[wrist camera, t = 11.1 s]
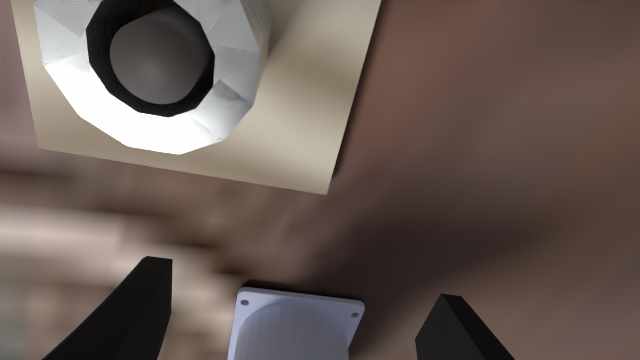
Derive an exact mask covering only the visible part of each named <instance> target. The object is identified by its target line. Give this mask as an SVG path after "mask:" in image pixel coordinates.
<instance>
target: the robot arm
mask: <svg viewBox="0 0 640 360" xmlns="http://www.w3.org/2000/svg"><path fill="white" fill-rule="evenodd" d="M171 297H172V259H166V258H158V257H151V256H146V257H145V258H143V259H142V260H141V261H140V262H139V263H138V264H137V266H136V267H135V268H134V269H133V270H132V271H131V272H130V274H129V275H128V276H127V277H126V278H125V279H124V280H123V281H122V282H121V283H120V285H119V286H118V287H117V288H116V289H115V290H114V291H113V292H112V293H111V294H110V295H109V296H108V297H107V298H106V299H105V300H104V301H103V302H102V303H101V304H100V305H99V306H98V307H97V308H96V309H95V310H94V311H93V312H92V313H91V314H90V315H89V316H88V317H87V318H86V319H85V320H84V321H83V322H82V323H81V324H80V325H79V326H78V327H77V328H76V329H75V330H74V331H73V332H72V333H71V334H70V335H69V336H68V337H66V338H65V339H64V340H63V341H62V342H61V343H60V344H59V345H58V346H57V347H55V348H54V349H53V350H52V351H51V352H50V353H49V354H48V355H47V356H45V357H44V358H43V359H42V360H157V358H158V355H159V352H160V349H161V346H162V342H163V339H164V336H165V332H166V329H167V325H168V322H169V319H170V315H171ZM364 311H365V307H364V303H363V302H362V301H358V300H350V299H342V298H334V297H326V296H317V295H309V294H301V293H292V292H284V291H276V290H268V289H259V288H251V287H243V288H241V289H239V291H238V295H237V302H236V308H235V314H234V321H233V327H232V333H231V340H230V346H229V352H228V359H227V360H349V355H348V348H349V346H350V343H351V341H352V339H353V336H354V334H355V332H356V329H357V327H358V325H359V322H360V320H361V318H362V315H363V313H364ZM415 343H416V350H417V358H418V360H515V359H514V358H513V357H512V356H511V354H510V353H509V352H508V351H507V350H506V349H505V347H504V346H503V345H502V344H501V343H500V341H499V340H498V339H497V338H496V337H495V335H494V334H493V333H492V332H491V331H490V329H489V328H488V327H487V326H486V325H485V323H484V322H483V321H482V320H481V319H480V318H479V316H478V315H477V314H476V313H475V312H474V310H473V309H472V308H471V307H470V306H469V305H468V303H467V302H466V301H465V300H464V299H463V298H462V297H461V296H455V295H447V294H440V296H439V298H438V299H437V301H436V303H435V305H434V307H433V308H432V310H431V312H430V314H429V315H428V317H427V319H426V321H425V322H424V324H423V326H422V328H421V329H420V331H419V333H418V335H417V336H416V338H415Z"/></svg>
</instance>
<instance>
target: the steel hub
mask: <svg viewBox="0 0 640 360" xmlns="http://www.w3.org/2000/svg"><path fill="white" fill-rule="evenodd" d="M152 1H153V0H36V1H35V3H34V5H35V6H34V12H35V18H36V24H37V30H38V36H39V42H40V48H41V54H42V60H43V65H45V66H44V67H45V69H46V70H47V71H48V73H49V74H50V76H51V77H52V78H53V80H54V81H55V83H56V84H57V85H58V87H59V88H60V90H61V91H62V92H63V94H64V95H65V97H66V98H67V99H68V101H69V102H70V103H71V105H72V106H73V108H74V109H75V110H76V112H77V113H78V115H80V116H81V117H82V118H84V119H86V120H87V121H89V122H90V123H92V124H93V125H95V126H97V127H98V128H100V129H101V130H103V131H105V132H106V133H108V134H109V135H111V136H113V137H114V138H116V139H117V140H119V141H121V142H122V143H124V144H125V145H127V146H130V147H136V148H142V149H149V150H155V151H161V152H167V153H173V154H182V153H185V152H188V151H192V150H195V149H198V148H201V147H204V146H207V145H211V144H214V143H217V142H220V141H223V140H224V139H225V138H226V137H227V136H228V135H229V134H230V132H231V131H232V130H233V129H234V128H235V126H236V125H237V124H238V123H239V122H240V121H241V119H242V118H243V117H244V116H245V115H246V114H247V112H248V111H249V110H250V109H251V108H252V107H253V105H254V102H255V99H256V95H257V92H258V88H259V85H260V82H261V78H262V75H263V72H264V68H265V65H266V61H267V58H268V51H269V43H270V36H271V29H272V22H273V19H272V16H271V13H270V10H269V7H268V5H267V2H266V0H174V1H175V2H176V3H177V4H179V5H180V6H181V7H182V8H183V9H185V10H186V11H187V12H188V13H189V14H191V15H192V16H193V17H194V18H195V19H197V20H198V21H199V22H200V23H201V25H202V28H203V30H204V32H205V34H206V36H207V38H208V41H209V43H210V45H211V47H212V49H213V51H214V54H215V65H214V66H211V67H208V68H207V69H206V71H205V72H204V73H203V75H202V76H201V77H200V79H199V80H198V81H197V83H196V84H195V85H194V87H193V88H192V89H191V91H190V92H189V93H188V94H187V95H186V96H185V97H184V98H182V99H181V100H179V101H177V102H174V103H170V104H155V103H151V102H147V101H145V100H142V99H140V98H138V97H137V96H135V95H133V94H132V93H131V92H130V91H128V90H127V89H126V88H125V87H124V86H123V85H122V83H121V82H120V81H119V79H118V78H117V76H116V74H115V72H114V70H113V68H112V64H111V60H110V47H111V42H112V40H113V38H114V36H115V34H116V33H117V31H118V30H119V29H120V28H121V27H123V26H124V25H126V24H128V23H130V22H132V21H134V20H136V19H139V18H141V17H143V16H145V15H147V14H149V13H151V12H152Z"/></svg>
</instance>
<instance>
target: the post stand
mask: <svg viewBox="0 0 640 360" xmlns="http://www.w3.org/2000/svg"><path fill="white" fill-rule="evenodd" d="M35 1H36V0H11V4H12V10H13V15H14V20H15V26H16V31H17V36H18V41H19V47H20V52H21V57H22V63H23V68H24V73H25V79H26V84H27V89H28V95H29V100H30V105H31V111H32V116H33V121H34V127H35V132H36V137H37V142H38V148H41V149H47V150H53V151H59V152H65V153H72V154H78V155H84V156H90V157H96V158H102V159H108V160H115V161H121V162H127V163H133V164H139V165H145V166H151V167H158V168H164V169H170V170H176V171H182V172H188V173H195V174H201V175H207V176H213V177H219V178H225V179H231V180H238V181H244V182H250V183H256V184H262V185H268V186H275V187H281V188H287V189H293V190H299V191H305V192H311V193H318V194H324V195H327V191H328V188H329V184H330V181H331V177H332V173H333V170H334V166H335V163H336V159H337V156H338V152H339V149H340V145H341V141H342V138H343V134H344V131H345V127H346V124H347V120H348V117H349V113H350V109H351V106H352V102H353V99H354V95H355V92H356V88H357V85H358V81H359V77H360V74H361V70H362V67H363V63H364V60H365V56H366V53H367V49H368V45H369V42H370V38H371V35H372V31H373V28H374V24H375V21H376V17H377V13H378V10H379V6H380V3H381V0H266V2H267V5H268V7H269V10H270V13H271V16H272V19H273V22H272V29H271V36H270V43H269V51H268V58H267V61H266V65H265V68H264V72H263V75H262V78H261V82H260V85H259V88H258V92H257V95H256V99H255V102H254V105H253V107H252V108H251V109H250V110H249V111H248V112H247V114H246V115H245V116H244V117H243V118H242V119H241V121H240V122H239V123H238V124H237V125H236V126H235V128H234V129H233V130H232V131H231V132H230V134H229V135H228V136H227V137H226V138H225V139H224V140H223V141H220V142H217V143H214V144H211V145H207V146H204V147H201V148H198V149H195V150H192V151H188V152H185V153H182V154H173V153H167V152H161V151H155V150H149V149H142V148H136V147H130V146H127V145H125V144H124V143H122V142H121V141H119V140H117V139H116V138H114V137H113V136H111V135H109V134H108V133H106V132H105V131H103V130H101V129H100V128H98V127H97V126H95V125H93V124H92V123H90V122H89V121H87V120H86V119H84V118H82V117H81V116H80V115H78V113H77V112H76V110H75V109H74V108H73V106H72V105H71V103H70V102H69V101H68V99H67V98H66V97H65V95H64V94H63V92H62V91H61V90H60V88H59V87H58V85H57V84H56V83H55V81H54V80H53V78H52V77H51V76H50V74H49V73H48V71H47V70H46V69H45V67H44V66H45V65H43V60H42V54H41V48H40V42H39V36H38V30H37V24H36V18H35V12H34V6H35V5H34V3H35ZM110 60H111V64H112V68H113V70H114V72H115V74H116V76H117V78H118V79H119V81H120V82H121V83H122V85H123V86H124V87H125V88H126V89H127V90H128V91H130V92H131V93H132V94H133V95H135V96H137V97H138V98H140V99H142V100H145V101H147V102H151V103H155V104H170V103H174V102H177V101H179V100H181V99H182V98H184V97H185V96H186V95H187V94H188V93H189V92H190V91H191V89H192V88H193V87H194V85H195V84H196V83H197V81H198V80H199V79H200V77H201V76H202V75H203V73H204V72H205V71H206V69H207V68H208V67H211V66H214V65H215V54H214V51H213V49H212V47H211V45H210V43H209V41H208V38H207V36H206V34H205V32H204V30H203V28H202V25H201V23H200V22H199V21H198V20H197V19H195V18H194V17H193V16H192V15H191V14H189V13H188V12H187V11H186V10H185V9H183V8H182V7H181V6H180V5H179V4H177V3H176V2H175V1H174V0H153V1H152V12H151V13H149V14H147V15H145V16H143V17H141V18H139V19H136V20H134V21H132V22H130V23H128V24H126V25H124V26H123V27H121V28H120V29H119V30H118V31H117V33H116V34H115V36H114V38H113V40H112V42H111V47H110Z"/></svg>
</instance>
